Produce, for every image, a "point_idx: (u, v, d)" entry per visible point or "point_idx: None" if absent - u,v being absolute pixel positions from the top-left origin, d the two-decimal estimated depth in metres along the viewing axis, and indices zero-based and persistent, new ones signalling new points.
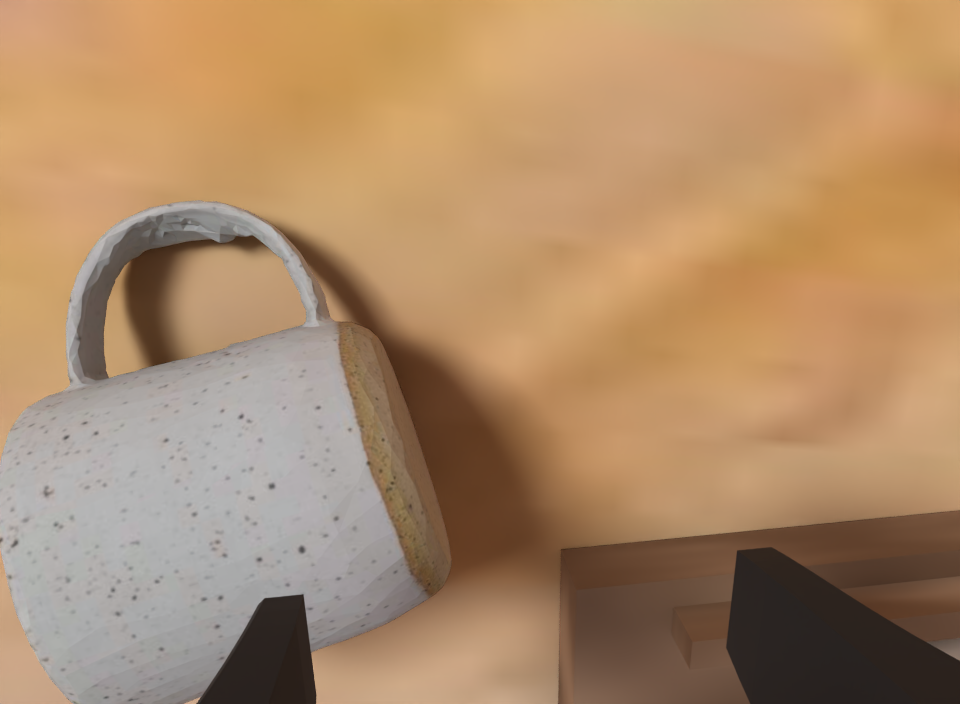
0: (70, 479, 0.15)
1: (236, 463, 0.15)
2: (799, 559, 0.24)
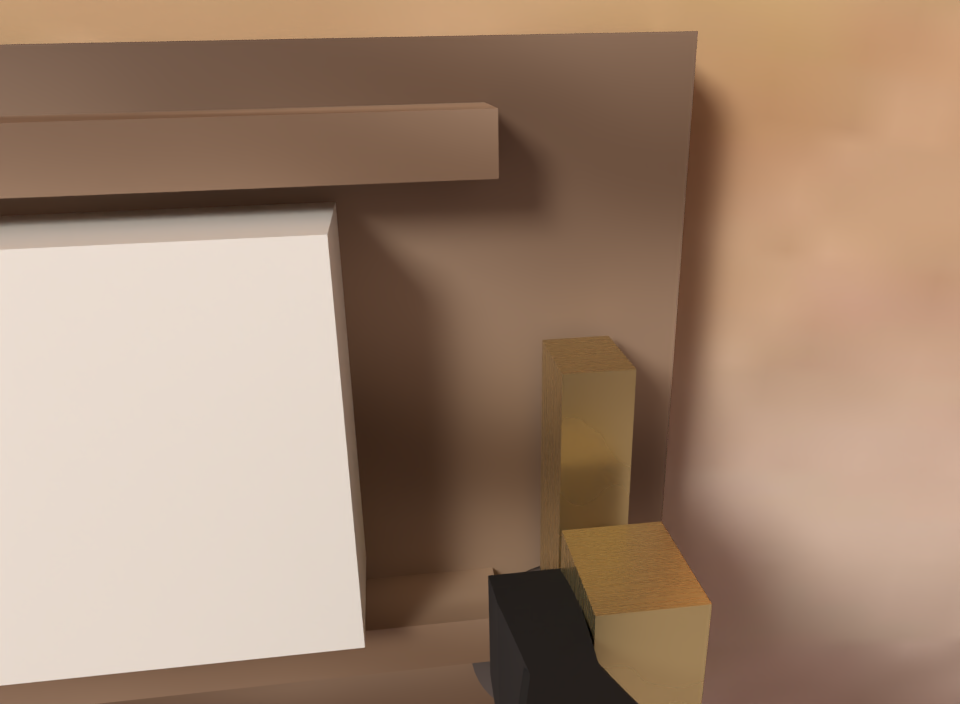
0: None
1: None
2: None
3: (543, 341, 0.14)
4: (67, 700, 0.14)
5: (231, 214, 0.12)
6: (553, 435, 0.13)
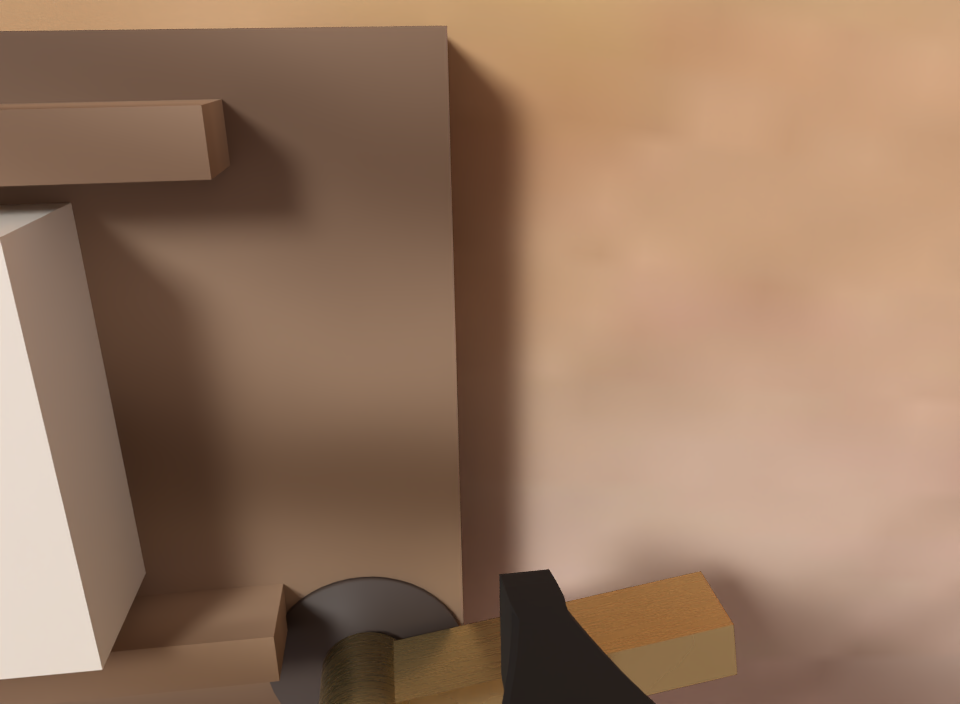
0: None
1: None
2: None
3: (701, 573, 0.16)
4: None
5: None
6: (651, 620, 0.15)
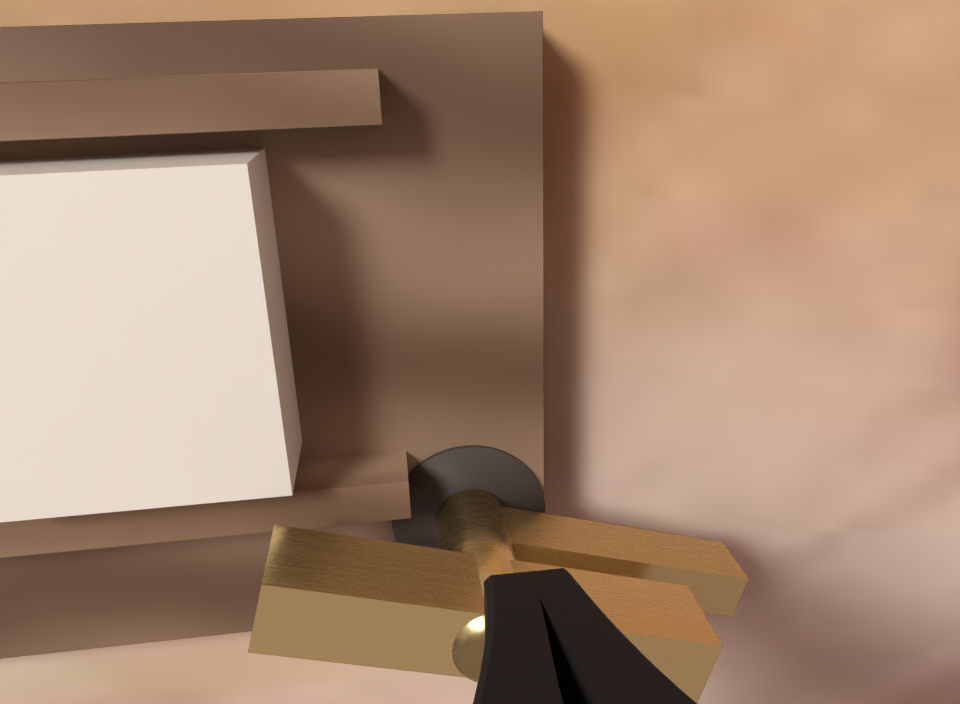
0: None
1: None
2: None
3: (723, 543, 0.21)
4: (62, 545, 0.18)
5: (181, 155, 0.16)
6: (691, 557, 0.20)
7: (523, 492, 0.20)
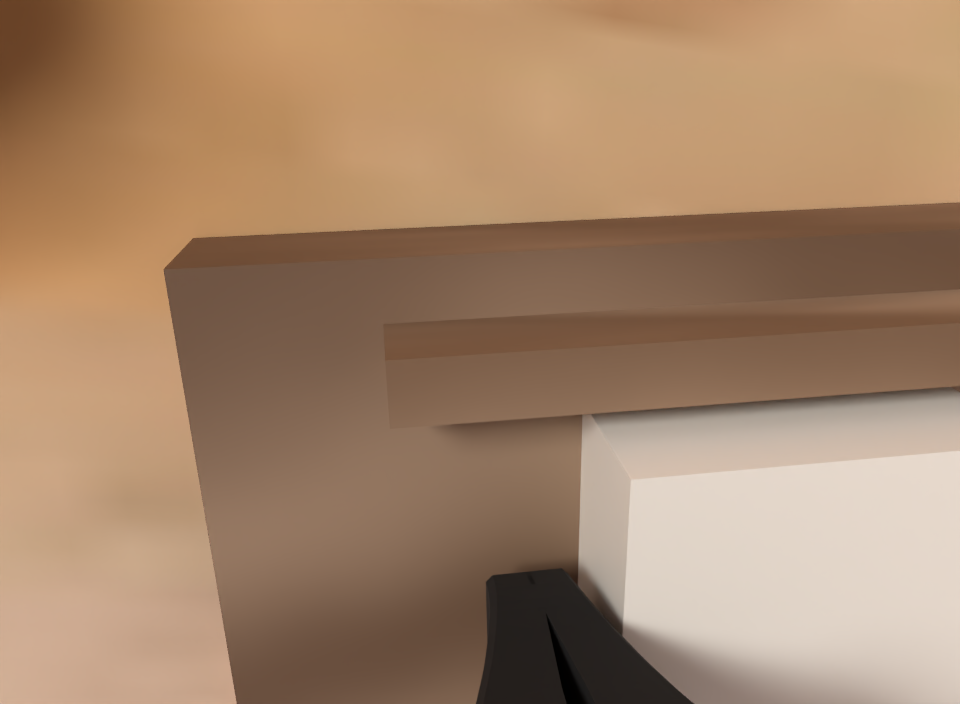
0: None
1: None
2: (643, 239, 0.12)
3: None
4: None
5: (868, 399, 0.12)
6: None
7: None
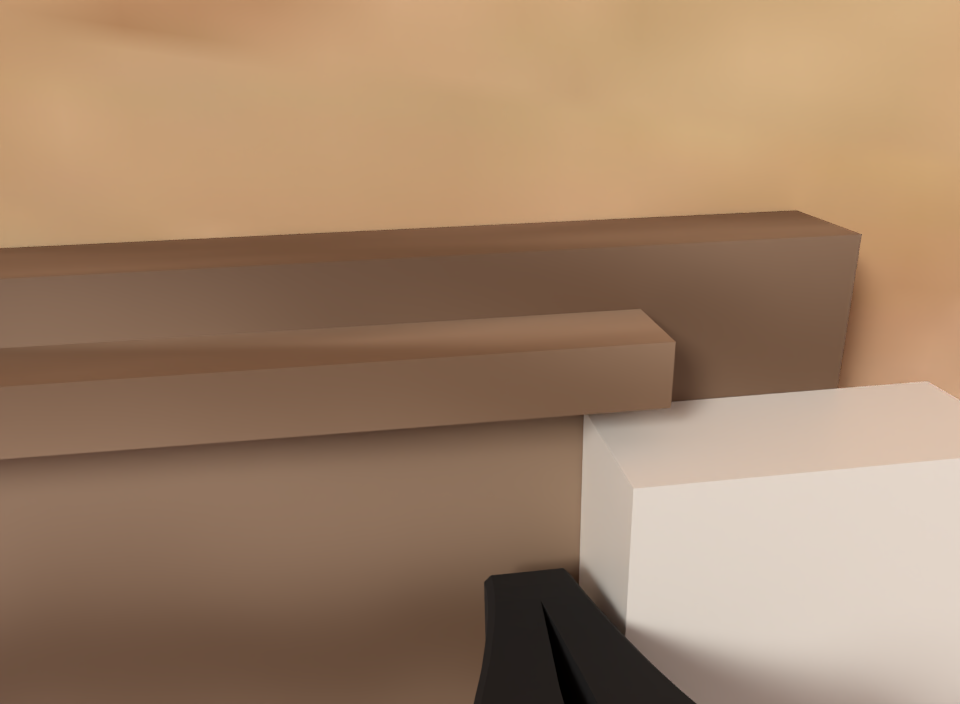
0: None
1: None
2: (136, 265, 0.11)
3: None
4: None
5: (868, 406, 0.12)
6: None
7: None
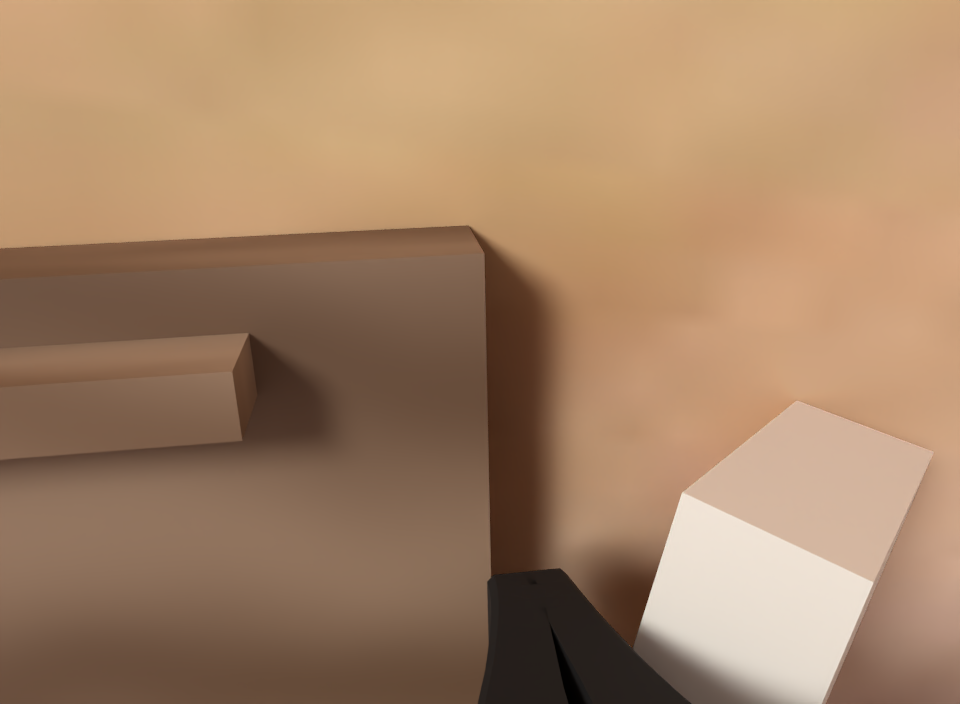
0: None
1: None
2: None
3: None
4: None
5: (815, 434, 0.14)
6: None
7: None
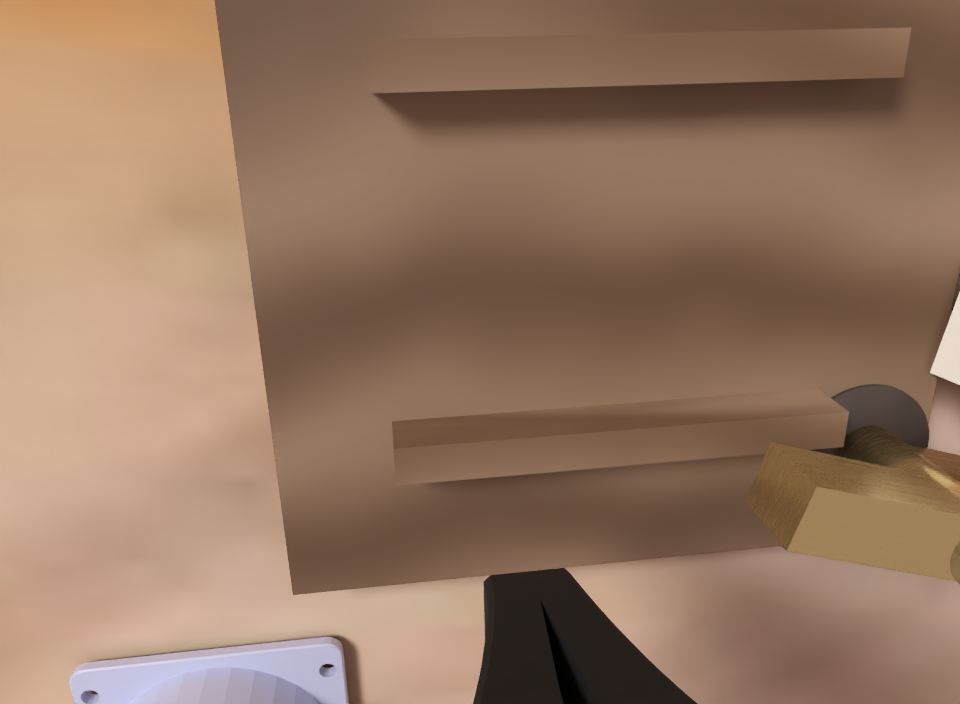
0: None
1: None
2: None
3: None
4: (544, 467, 0.19)
5: None
6: None
7: (912, 429, 0.22)
